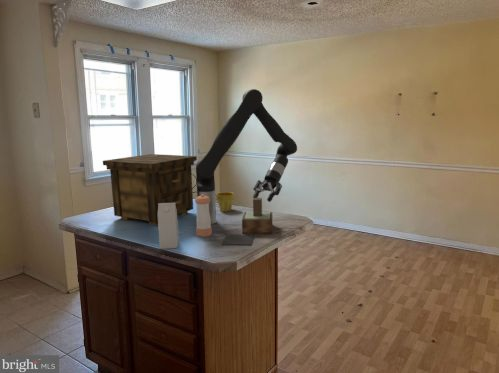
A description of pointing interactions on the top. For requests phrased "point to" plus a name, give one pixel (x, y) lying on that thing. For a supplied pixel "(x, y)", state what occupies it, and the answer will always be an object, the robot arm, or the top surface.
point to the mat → (238, 240)
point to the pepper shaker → (203, 216)
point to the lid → (257, 211)
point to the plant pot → (225, 200)
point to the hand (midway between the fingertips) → (261, 199)
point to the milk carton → (167, 225)
